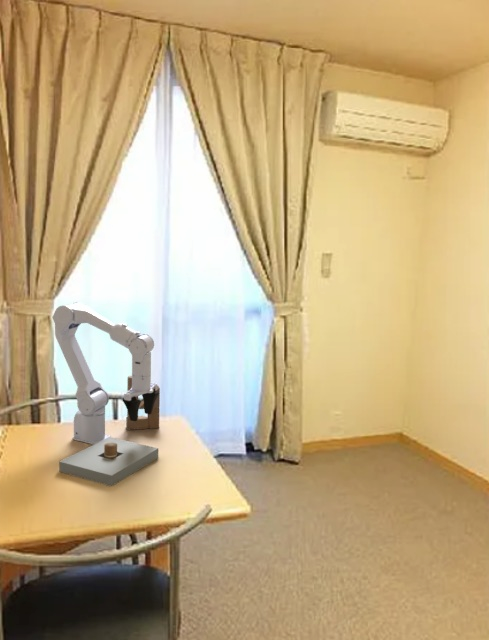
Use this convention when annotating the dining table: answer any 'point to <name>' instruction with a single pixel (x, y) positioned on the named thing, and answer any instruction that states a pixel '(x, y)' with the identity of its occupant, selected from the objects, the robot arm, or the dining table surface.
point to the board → (108, 461)
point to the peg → (110, 450)
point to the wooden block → (143, 421)
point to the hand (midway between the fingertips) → (140, 417)
